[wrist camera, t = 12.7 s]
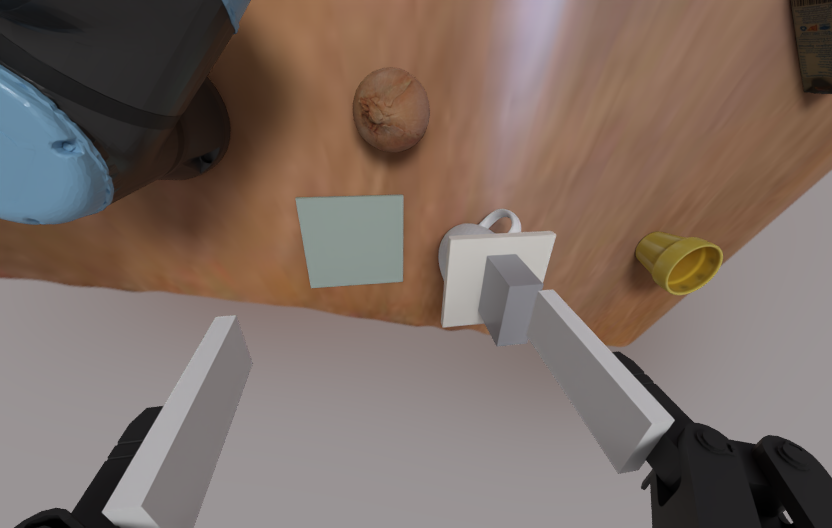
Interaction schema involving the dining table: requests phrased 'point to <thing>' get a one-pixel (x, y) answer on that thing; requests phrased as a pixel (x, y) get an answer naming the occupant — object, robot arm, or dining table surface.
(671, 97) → the dining table surface
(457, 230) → the mug
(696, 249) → the plant pot
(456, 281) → the lid
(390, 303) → the dining table surface
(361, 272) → the mat
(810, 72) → the beverage carton
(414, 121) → the onion
